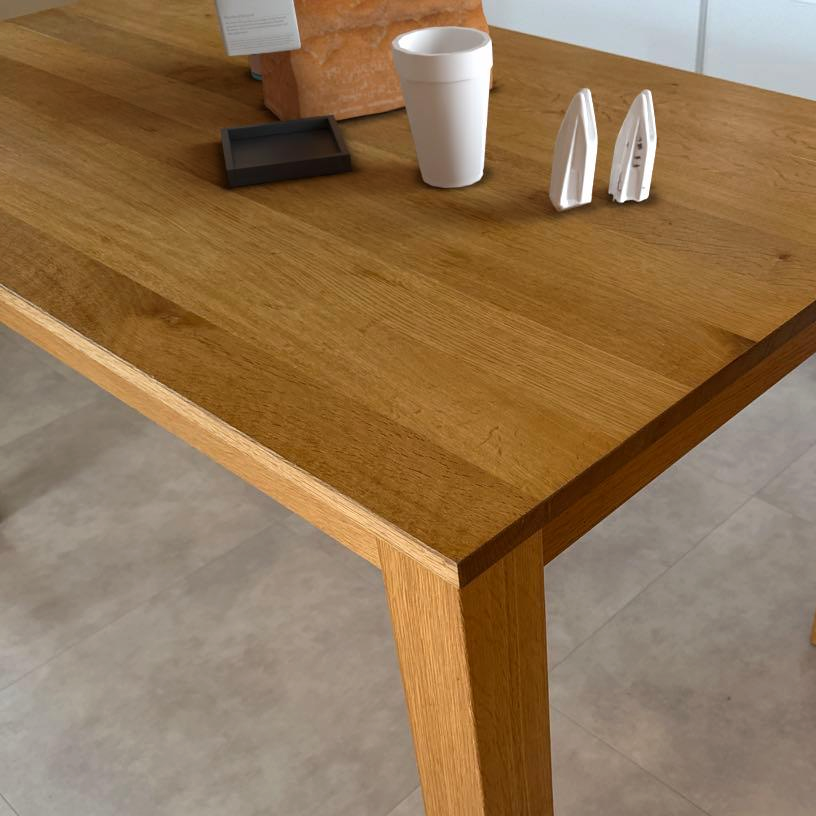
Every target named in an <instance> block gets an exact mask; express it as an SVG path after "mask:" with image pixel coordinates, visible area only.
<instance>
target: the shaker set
mask: <svg viewBox="0 0 816 816" xmlns="http://www.w3.org/2000/svg"><path fill="white" fill-rule="evenodd" d="M568 105H569V106H568V108H567V110H566V113H565V115H564V117H563V119H562V122H561V124H560V127H559V130H558V133H557V135H556V138H555V142H554V147H553V155H552V161H551V162H552V163H551V164H552V165H551V172H550V173H551V174H550V181H549V182H550V183H549V193H548V194H549V195H548V196H549V199H550V201H551V203H552V206H553V207H555V210H556V211H557V212H563V211H568V210H571V209H574V208H578V207H582V206H585V205H587V204H590V203H591V202H592V197H593V196H592V195H593V185H594V178H595V169H596V161H597V152H598V132H597V124H596V117H595V110H594V103H593V99H592V93H591V90H590V89H589V88H585V87H583V88H581V89H580V90H579V91H578V92H576V93H575V94H574V96H573V97H572V99H571V101H570V103H569V104H568ZM655 118H656V117H655V111H654V103H653V97H652V92H651V90H649V89H643V90H642V91H641V92H640V93H638V94H637V95H636V96H635V98H634V99H633V102H632V103H631V105H630V108H629V109H628V112H627V113H626V116H625V118H624V121H623V123H622V124H621V127H620V129H619V132H618V134H617V137H616V140H615V144H614V149H613V157H612V161H611V169H610V177H609V184H608V192H607V193H608V194H609V195H610V194H611V195H612V196H613V197H612V202H615V201H616V202H617V203H624V202H625V201H630V200H631V201H635V202H642V201H644V200H647V199H648V198H649V194H650V188H651V182H652V177H653V170H654V164H655V157H656V149H657V127H656V119H655Z"/></svg>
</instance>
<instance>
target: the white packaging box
mask: <svg viewBox="0 0 816 816" xmlns="http://www.w3.org/2000/svg"><path fill="white" fill-rule="evenodd" d="M213 3H214V4H213V5H214V10H215V13H216V19H217V24H218V28H219V33H220V37H221V42H222V45H223V48H224V51H225V54H226V56H227V57H239V56H248V55H250V54H260V53H269V52H279V51H288V50H296V49H300V47H301V44H300V38H299V32H298V26H297V20H296V14H295V8H294V2H293V0H213Z"/></svg>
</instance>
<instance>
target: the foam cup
mask: <svg viewBox="0 0 816 816" xmlns="http://www.w3.org/2000/svg"><path fill="white" fill-rule="evenodd" d="M489 36H490V34H489V35H488V34H487V33H485V32H483V31H480V30H477V29H474V28H465V27H456V26H452V27H430V28H424V29H418V30H413V31H410V32H407V33H404V34H401V35H399V36H397V37H396V38H395V39H394V40H393V41H392V50H393V59H394V67H395V70H396V72H397V75H398V76H399V81H400V85H401V89H402V93H403V98H404V102H405V106H406V107H405V111H406V114H407V120H408V123H409V126H410V132H411V137H412V140H413V141H412V142H413V145H414V149H415V154H416V157H417V162H418V166H419V170H420V173H421V178H422V181H423V182H424V183H426V184H428V185H429V186H431V187H438V188H443V189H448V188H449V189H453V188H461V187H467V186H470V185H473V184H475V183H477V182H479V181H480V180H481V179H482V177H483V175H484V171H483V170H484V169H485V156H486V155H485V153H486V139H487V138H486V137H487V123H488V111H489V95H490V89H489V83H490V68H491V67H492V68H493V65H494V64H493V63H494V62H493V44H492V43H493V42H492V38H491V36H490V37H489Z"/></svg>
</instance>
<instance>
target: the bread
mask: <svg viewBox="0 0 816 816" xmlns="http://www.w3.org/2000/svg"><path fill="white" fill-rule="evenodd" d="M293 2H294V8H295V14H296V20H297V26H298V32H299V38H300V44H301V47H300V49H296V50H288V51H279V52H269V53H260V63H261V73H262V80H261V81H262V82H261V83H262V93H263V101H264V106H265V107H266V108H267V109H269V111H271V112H272V113H273V114H274V115H275V116H276V117H277V118H278V119H279V121H285V120H293V119H301V118H310V117H318V116H327V115H334V117H335V119H336V122H337V121H338V122H339V121H343V120H347V119H352V118H355V117H361V116H368V115H373V114H381V113H387V112H391V111H395V110H399V109H400V110H401V109H404V108H406V106H405V102H404V98H403V93H402V89H401V85H400V81H399V76H398V75H397V72H396V70H395V67H394V59H393V50H392V41H393V40H394V39H395V38H396V37H397V36H399V35H401V34H404V33H407V32H410V31H413V30H418V29H424V28H430V27H452V26H456V27H465V28H474V29H477V30H480V31H483V32H485V33H487V34H488V35H489V37H490V38H491V36H490V31H489V29H490V28H489V25H488V21H487V18H486V16H485V13H484V8H483V0H293ZM493 80H494V79H493V66H492V67H491V68H490V83H489V90H493V82H494V81H493Z"/></svg>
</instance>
